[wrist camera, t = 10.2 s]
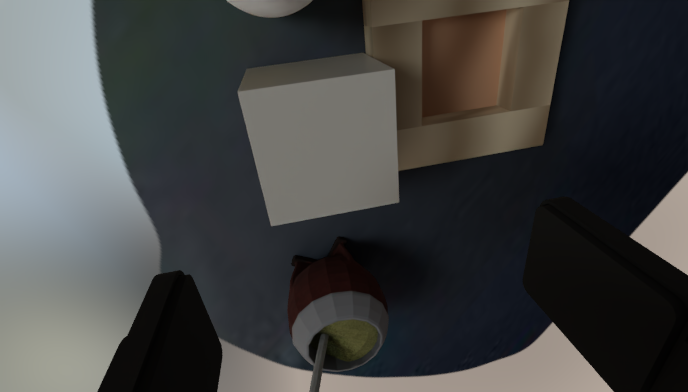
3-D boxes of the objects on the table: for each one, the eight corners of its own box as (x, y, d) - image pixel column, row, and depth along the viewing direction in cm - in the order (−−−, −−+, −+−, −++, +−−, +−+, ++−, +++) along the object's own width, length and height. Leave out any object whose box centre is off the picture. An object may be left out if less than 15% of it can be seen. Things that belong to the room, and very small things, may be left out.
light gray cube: (362, 52, 22) (394, 69, 16) (370, 158, 25) (399, 202, 20) (246, 68, 21) (237, 91, 15) (271, 175, 25) (271, 226, 19)
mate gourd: (381, 243, 29) (469, 430, 16) (344, 310, 32) (393, 515, 19) (297, 220, 27) (321, 420, 14) (265, 296, 30) (260, 519, 17)
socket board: (554, -54, 21) (579, -60, 19) (525, 136, 27) (542, 145, 25) (359, -32, 20) (368, -35, 18) (373, 162, 26) (381, 174, 24)
